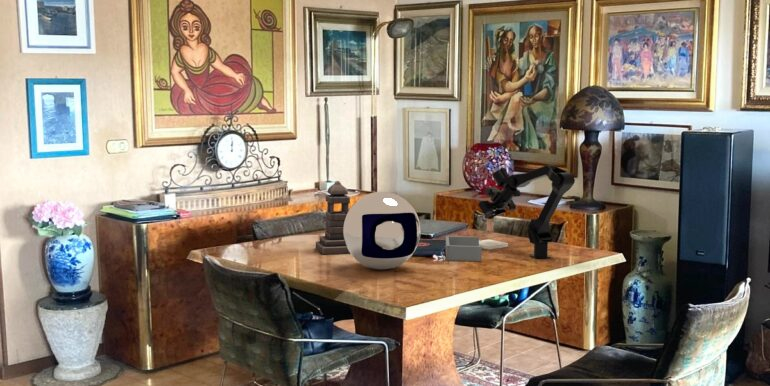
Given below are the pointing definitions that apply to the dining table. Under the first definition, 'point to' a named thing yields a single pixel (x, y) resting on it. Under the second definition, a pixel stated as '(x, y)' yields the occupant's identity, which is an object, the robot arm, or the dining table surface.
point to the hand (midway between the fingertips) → (487, 217)
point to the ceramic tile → (492, 244)
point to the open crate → (463, 248)
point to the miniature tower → (335, 222)
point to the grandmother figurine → (490, 224)
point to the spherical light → (381, 230)
